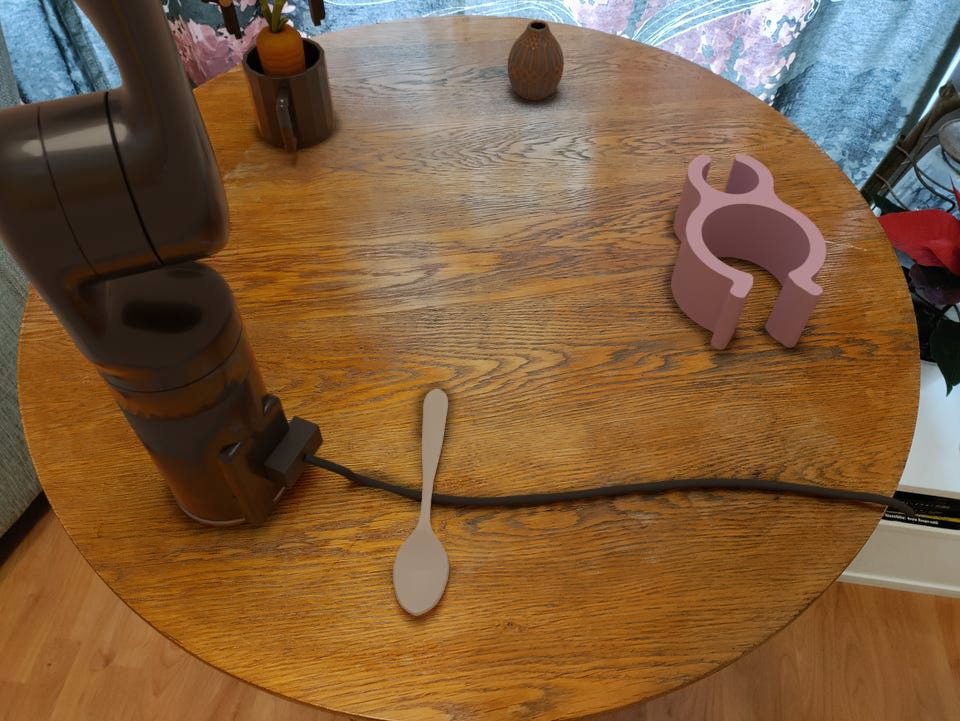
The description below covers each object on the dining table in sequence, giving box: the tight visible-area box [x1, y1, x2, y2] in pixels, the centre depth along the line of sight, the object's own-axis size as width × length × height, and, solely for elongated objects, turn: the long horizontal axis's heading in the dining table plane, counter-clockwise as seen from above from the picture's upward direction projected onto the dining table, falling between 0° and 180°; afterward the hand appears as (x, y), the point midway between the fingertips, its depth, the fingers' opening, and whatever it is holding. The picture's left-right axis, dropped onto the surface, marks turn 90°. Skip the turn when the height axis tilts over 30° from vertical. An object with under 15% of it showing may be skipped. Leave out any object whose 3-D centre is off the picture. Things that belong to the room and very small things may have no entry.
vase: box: [507, 19, 565, 101], centre depth 94 cm, size 7×7×9 cm
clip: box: [670, 153, 827, 351], centre depth 74 cm, size 20×12×7 cm, turn 3°
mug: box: [241, 36, 336, 154], centre depth 87 cm, size 13×9×9 cm
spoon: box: [392, 388, 450, 617], centre depth 60 cm, size 4×21×2 cm, turn 178°
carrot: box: [255, 0, 306, 76], centre depth 85 cm, size 5×5×15 cm
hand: (277, 29), depth 83 cm, fingers open, 8 cm apart
